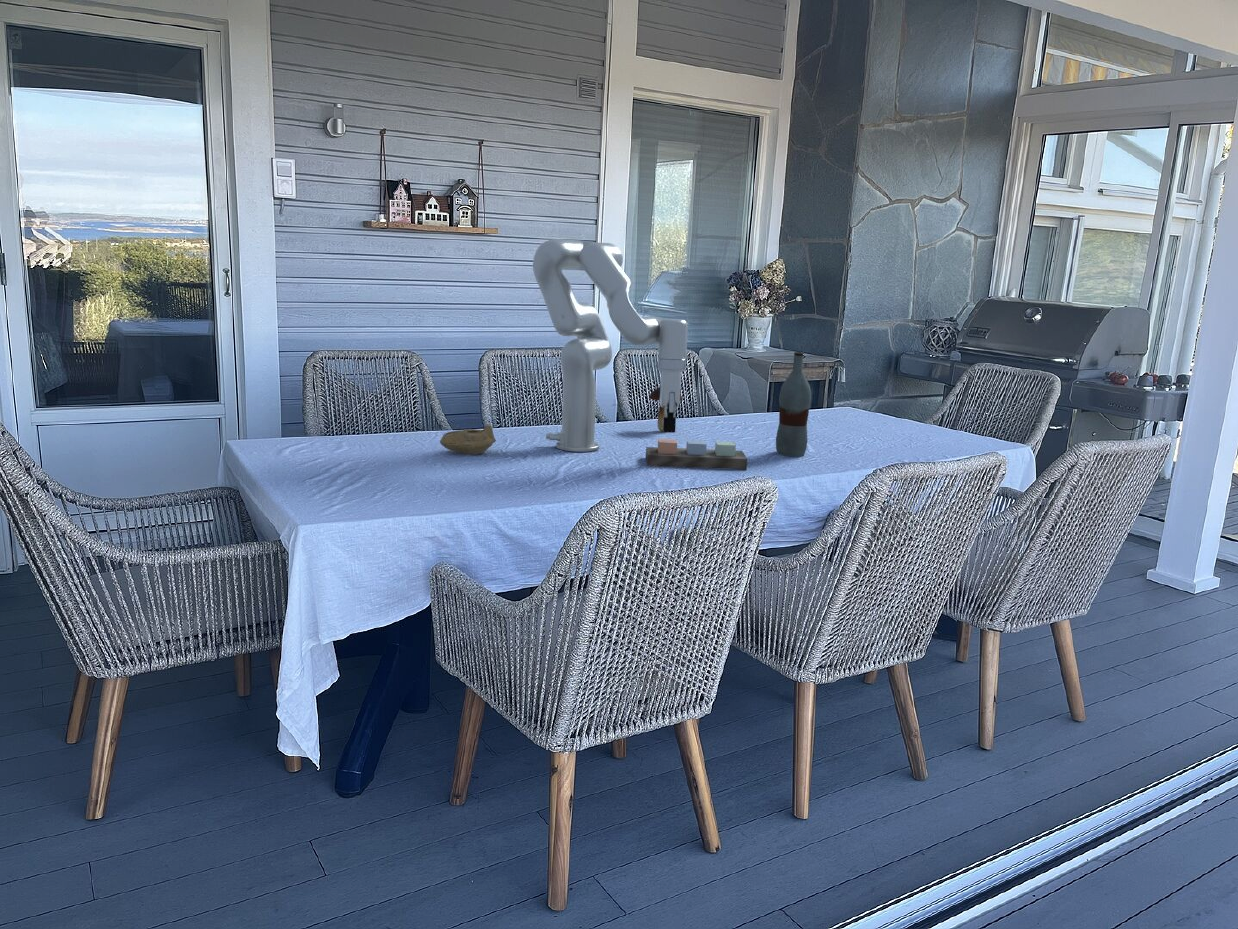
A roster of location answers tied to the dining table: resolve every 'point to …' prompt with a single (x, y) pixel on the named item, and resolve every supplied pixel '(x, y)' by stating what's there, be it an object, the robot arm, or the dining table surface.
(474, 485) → the dining table surface
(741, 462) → the console
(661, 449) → the terracotta button
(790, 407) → the bottle
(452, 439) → the oil lamp
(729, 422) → the dining table surface
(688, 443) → the slate button
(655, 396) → the decorative mushroom
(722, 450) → the sage button
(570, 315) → the robot arm
